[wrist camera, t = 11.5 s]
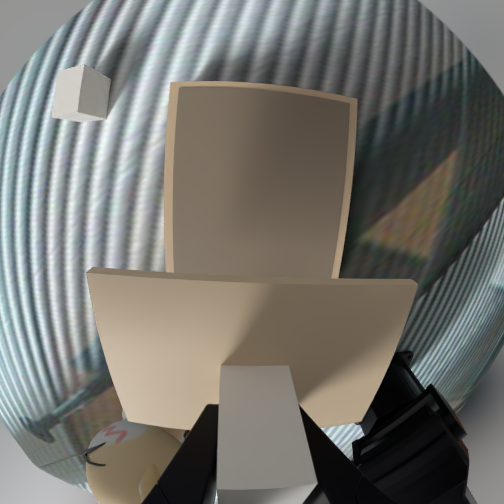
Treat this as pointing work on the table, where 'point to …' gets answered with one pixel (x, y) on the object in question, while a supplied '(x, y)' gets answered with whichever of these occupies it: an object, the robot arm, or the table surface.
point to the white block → (81, 95)
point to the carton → (257, 179)
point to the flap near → (249, 362)
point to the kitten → (129, 460)
